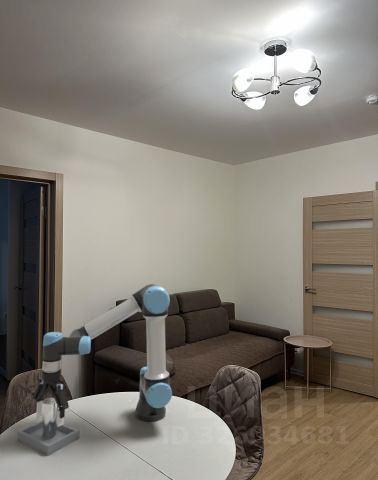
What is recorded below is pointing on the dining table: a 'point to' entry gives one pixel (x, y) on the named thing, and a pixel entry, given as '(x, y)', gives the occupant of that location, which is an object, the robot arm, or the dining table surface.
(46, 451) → the tray
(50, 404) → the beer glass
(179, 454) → the dining table surface
